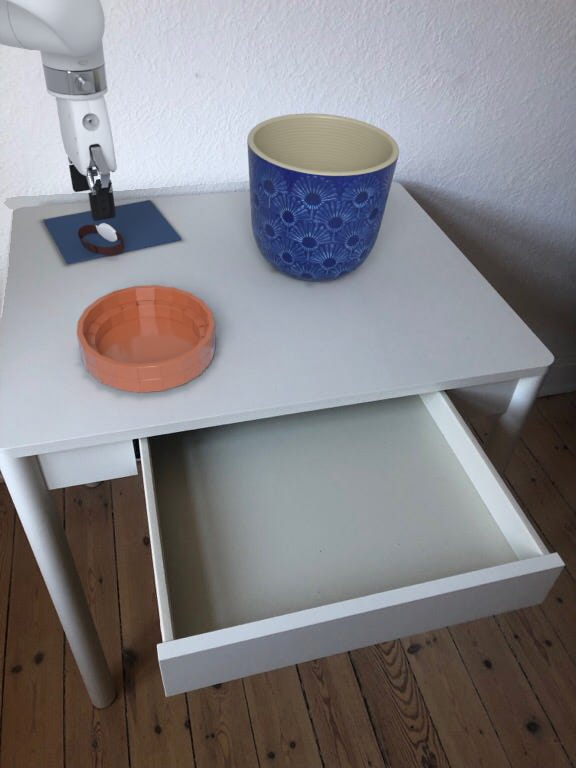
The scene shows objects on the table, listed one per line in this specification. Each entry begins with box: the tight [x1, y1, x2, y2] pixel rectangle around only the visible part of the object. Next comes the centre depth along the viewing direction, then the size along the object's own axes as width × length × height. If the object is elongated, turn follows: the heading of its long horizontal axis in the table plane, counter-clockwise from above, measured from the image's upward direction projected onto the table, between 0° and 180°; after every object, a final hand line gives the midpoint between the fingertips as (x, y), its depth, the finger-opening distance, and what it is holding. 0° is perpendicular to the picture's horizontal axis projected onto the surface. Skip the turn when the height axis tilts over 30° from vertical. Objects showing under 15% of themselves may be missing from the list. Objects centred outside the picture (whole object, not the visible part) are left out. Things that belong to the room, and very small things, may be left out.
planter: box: [246, 112, 400, 282], centre depth 93 cm, size 21×21×19 cm
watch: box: [78, 223, 125, 256], centre depth 96 cm, size 8×5×4 cm, turn 65°
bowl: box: [76, 284, 216, 393], centre depth 79 cm, size 16×16×4 cm
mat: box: [43, 199, 182, 265], centre depth 102 cm, size 18×14×1 cm
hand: (93, 203), depth 92 cm, fingers open, 9 cm apart
